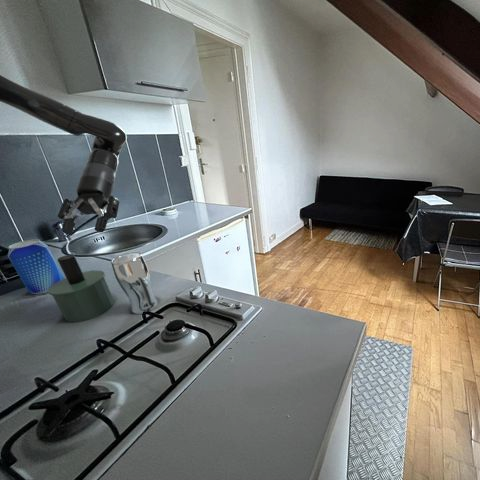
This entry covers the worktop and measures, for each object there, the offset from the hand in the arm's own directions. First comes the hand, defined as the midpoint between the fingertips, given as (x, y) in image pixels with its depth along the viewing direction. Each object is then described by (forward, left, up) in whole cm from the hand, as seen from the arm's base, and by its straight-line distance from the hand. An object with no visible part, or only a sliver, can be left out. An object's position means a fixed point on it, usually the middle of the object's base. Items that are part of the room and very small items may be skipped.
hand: (82, 232), depth 71 cm
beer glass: (+12, -13, -20) cm, 27 cm away
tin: (-2, -7, -20) cm, 21 cm away
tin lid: (-2, -7, -11) cm, 14 cm away
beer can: (-19, +13, -20) cm, 31 cm away
